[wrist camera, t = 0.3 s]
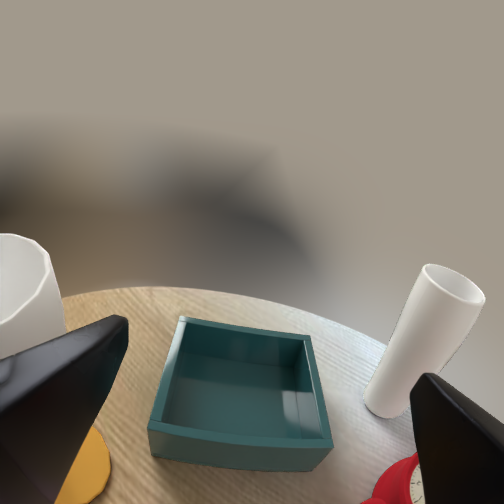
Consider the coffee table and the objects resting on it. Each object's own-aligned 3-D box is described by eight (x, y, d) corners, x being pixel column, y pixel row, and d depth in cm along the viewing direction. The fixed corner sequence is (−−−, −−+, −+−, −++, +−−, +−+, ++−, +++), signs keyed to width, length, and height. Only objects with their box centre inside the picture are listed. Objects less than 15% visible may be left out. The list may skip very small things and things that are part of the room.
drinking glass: (345, 407, 26) (417, 277, 19) (367, 371, 31) (425, 255, 25) (399, 436, 22) (490, 315, 16) (414, 396, 27) (484, 285, 21)
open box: (311, 471, 19) (334, 447, 17) (151, 455, 18) (146, 428, 16) (296, 366, 30) (310, 335, 28) (177, 349, 29) (180, 315, 27)
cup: (132, 449, 18) (103, 267, 11) (73, 531, 9) (-78, 401, 3) (49, 393, 19) (1, 217, 13) (-11, 454, 11) (-118, 278, 4)
